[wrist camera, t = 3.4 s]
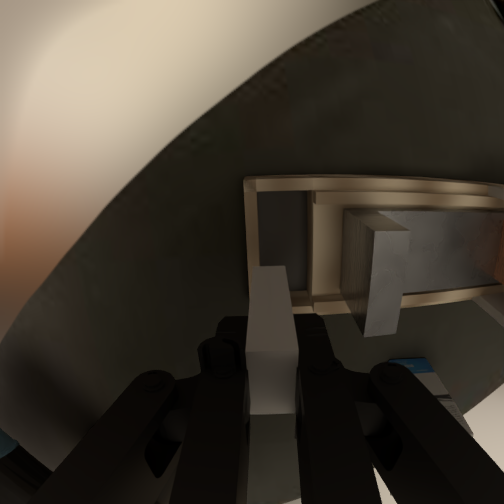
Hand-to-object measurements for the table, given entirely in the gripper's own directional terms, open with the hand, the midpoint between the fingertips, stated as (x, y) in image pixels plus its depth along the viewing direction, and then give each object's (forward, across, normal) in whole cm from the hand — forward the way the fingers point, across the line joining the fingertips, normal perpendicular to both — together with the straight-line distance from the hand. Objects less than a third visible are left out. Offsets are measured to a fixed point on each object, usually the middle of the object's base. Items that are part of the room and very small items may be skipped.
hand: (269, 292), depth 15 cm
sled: (+7, +14, 0) cm, 16 cm away
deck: (+10, +15, 0) cm, 18 cm away
